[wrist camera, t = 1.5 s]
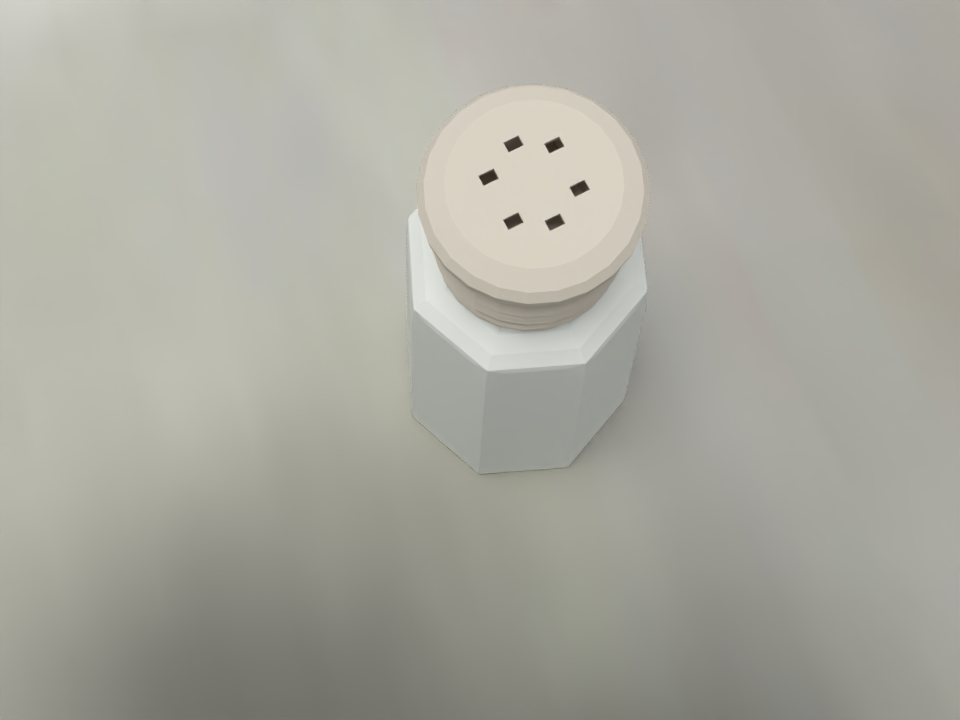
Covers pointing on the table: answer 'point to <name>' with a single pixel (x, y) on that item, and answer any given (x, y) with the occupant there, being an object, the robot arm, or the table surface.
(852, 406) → the table surface
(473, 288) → the pepper shaker
